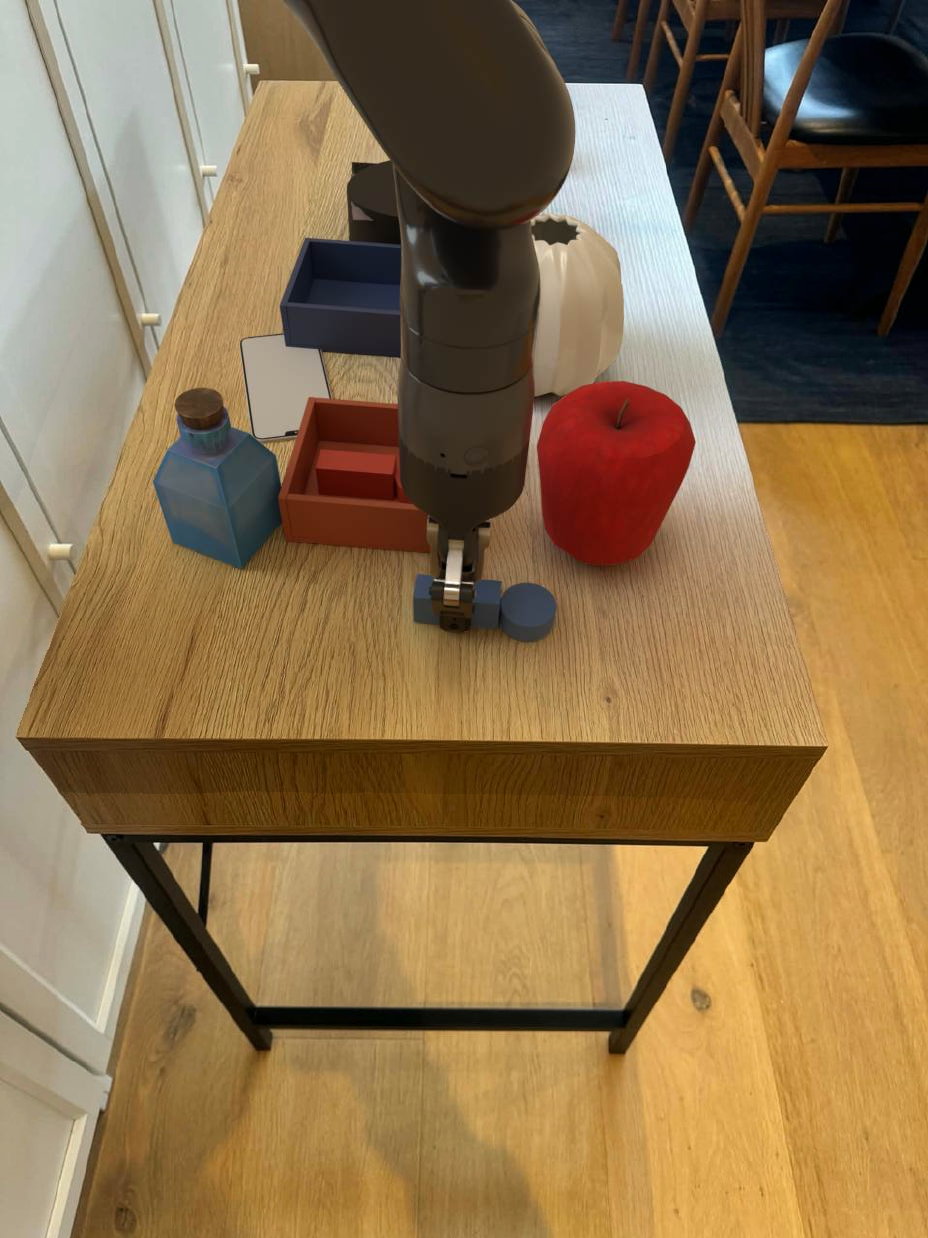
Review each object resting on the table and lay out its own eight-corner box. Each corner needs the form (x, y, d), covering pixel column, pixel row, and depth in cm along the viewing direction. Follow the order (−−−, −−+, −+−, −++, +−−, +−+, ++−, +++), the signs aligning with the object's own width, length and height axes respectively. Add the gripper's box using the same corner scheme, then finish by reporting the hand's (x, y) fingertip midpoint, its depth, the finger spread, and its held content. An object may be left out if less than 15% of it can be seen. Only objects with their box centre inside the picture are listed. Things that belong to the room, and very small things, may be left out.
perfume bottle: (286, 516, 69) (264, 389, 60) (241, 569, 66) (210, 444, 56) (219, 491, 71) (187, 363, 61) (172, 542, 67) (130, 415, 58)
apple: (652, 493, 72) (691, 350, 62) (673, 590, 66) (720, 449, 55) (522, 492, 72) (539, 348, 61) (531, 590, 66) (551, 448, 55)
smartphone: (316, 329, 84) (340, 430, 75) (317, 335, 85) (340, 436, 76) (237, 337, 83) (251, 441, 74) (238, 343, 84) (253, 447, 75)
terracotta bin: (285, 541, 68) (277, 498, 64) (314, 439, 75) (308, 396, 71) (458, 555, 67) (459, 513, 64) (470, 452, 75) (472, 409, 71)
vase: (457, 327, 86) (461, 188, 75) (599, 323, 87) (623, 186, 76) (471, 420, 77) (477, 278, 67) (628, 414, 78) (659, 274, 68)
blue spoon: (411, 632, 63) (411, 607, 61) (418, 589, 65) (417, 563, 63) (553, 644, 62) (558, 620, 60) (554, 600, 65) (559, 575, 63)
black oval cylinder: (522, 286, 92) (534, 215, 87) (347, 279, 90) (347, 205, 84) (504, 219, 101) (513, 150, 96) (345, 211, 99) (345, 140, 93)
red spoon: (316, 502, 70) (312, 475, 67) (325, 467, 72) (322, 441, 70) (443, 512, 69) (443, 486, 67) (448, 477, 72) (448, 451, 70)
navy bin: (285, 348, 83) (279, 305, 79) (309, 279, 90) (304, 237, 86) (426, 359, 82) (426, 316, 79) (439, 289, 90) (440, 247, 86)
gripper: (413, 343, 54) (416, 537, 68) (381, 501, 46) (391, 688, 60) (535, 352, 54) (513, 546, 68) (526, 513, 46) (503, 698, 59)
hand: (456, 611), depth 64 cm, fingers closed on blue spoon, 2 cm apart
